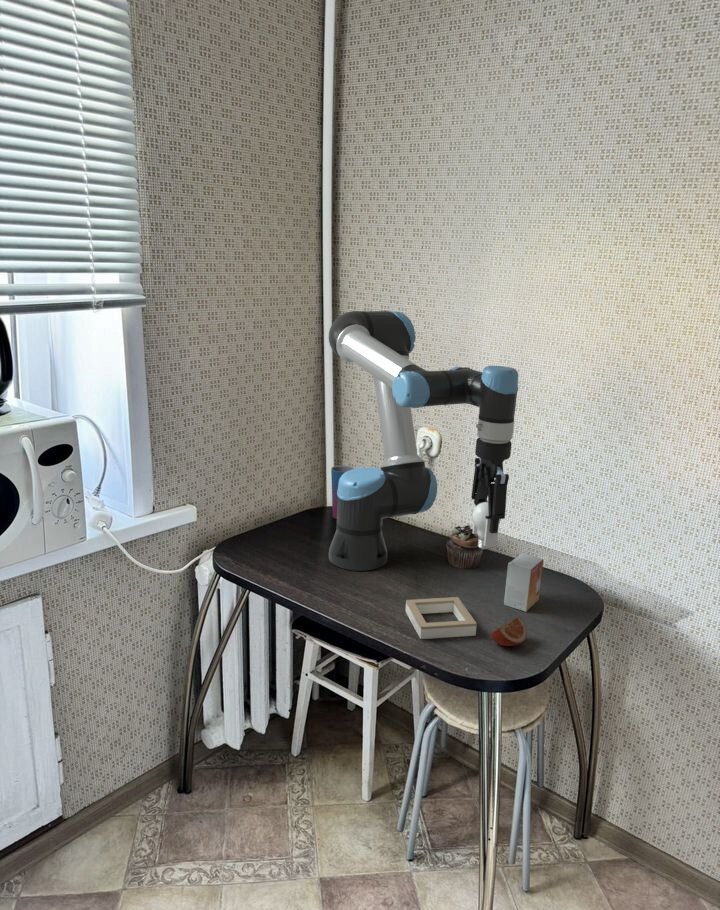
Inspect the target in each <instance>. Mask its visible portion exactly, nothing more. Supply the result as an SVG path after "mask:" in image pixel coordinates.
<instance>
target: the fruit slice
mask: <svg viewBox="0 0 720 910" xmlns="http://www.w3.org/2000/svg"><path fill="white" fill-rule="evenodd" d="M489 635H490V638H491V639H492V640H493V641H494V642H495V643H496V644H498V645H500V646H503V647H504V646H505V647H509V646H510V647H513V646H518V645H521V644H522V643H524V642H525V640H526V638H527V637H528V630H527V627H526V624H525V622H524V620H523V619H522V617H521V615H518V616H516V617H515V618H513V619H511V620H509V621H508V622H506V623H505V624H503V625H501V626H500V627H498V628H497V629H495V630H494V631H492V633H490V634H489Z"/></svg>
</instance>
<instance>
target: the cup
mask: <svg viewBox="0 0 720 910" xmlns="http://www.w3.org/2000/svg"><path fill="white" fill-rule="evenodd" d="M352 469H355V468H354V467H353V466H349V465H334V466H332V467H331V469H330V470H331V471H330V472H331V477H330V478H331V506H332V507H331V510H332V518H333V519H336V520H337V500H338V495H337V490H338V484H339V479H340V477H341V476H342V475H343V474H344V473H345V472H347V471H349V470H352Z"/></svg>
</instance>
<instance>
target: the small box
mask: <svg viewBox="0 0 720 910" xmlns="http://www.w3.org/2000/svg"><path fill="white" fill-rule="evenodd" d="M544 561H545V560H544V559H543V558H541V557H538V556H534V555H531V554H527V553H523V552H521V553H519V555H518V556H516V557H515V558H513V559H512V560H511V561H509V562H508V564H507V571H506V581H505V589H504V599H503V600H504V601H503V605H504V606H506V607H510V608H513V609H516V610H519V611H523V612H525V613H526V612H527V611H529V609H531V607H532V606H534V605H535V604H536V603H537V602H538V601H539V600H540V592H541V591H540V590H541V586H542V585H541V584H542V576H543V567H544Z"/></svg>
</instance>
